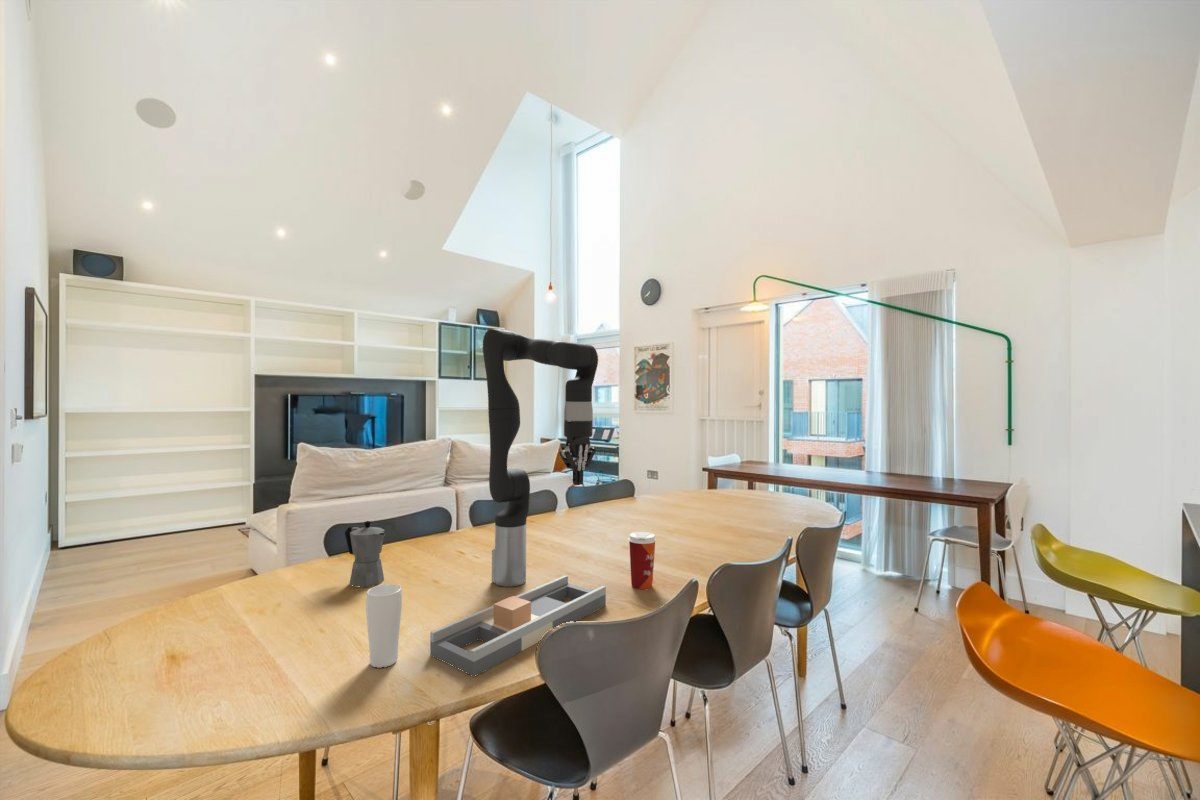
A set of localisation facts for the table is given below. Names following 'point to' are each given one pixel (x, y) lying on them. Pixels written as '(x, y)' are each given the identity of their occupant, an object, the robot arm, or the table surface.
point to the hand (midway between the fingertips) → (577, 484)
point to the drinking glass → (383, 623)
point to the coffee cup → (642, 559)
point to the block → (512, 612)
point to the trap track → (510, 642)
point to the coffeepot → (365, 554)
